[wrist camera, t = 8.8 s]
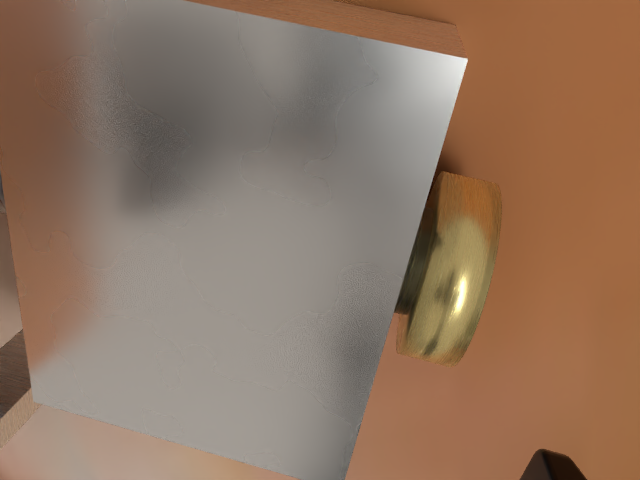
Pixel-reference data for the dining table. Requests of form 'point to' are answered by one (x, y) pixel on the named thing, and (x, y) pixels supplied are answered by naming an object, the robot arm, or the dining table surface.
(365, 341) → the block
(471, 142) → the dining table surface
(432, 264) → the lynch pin
